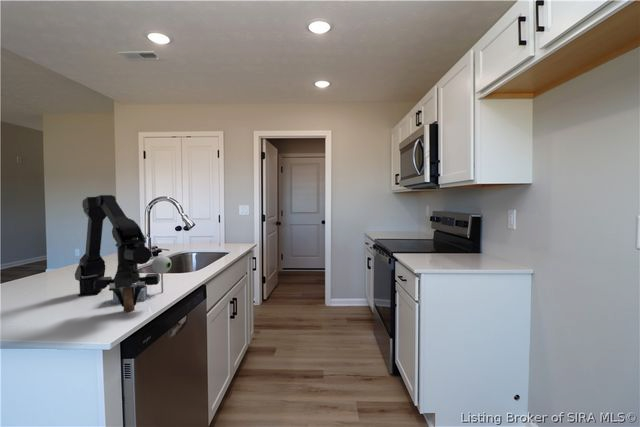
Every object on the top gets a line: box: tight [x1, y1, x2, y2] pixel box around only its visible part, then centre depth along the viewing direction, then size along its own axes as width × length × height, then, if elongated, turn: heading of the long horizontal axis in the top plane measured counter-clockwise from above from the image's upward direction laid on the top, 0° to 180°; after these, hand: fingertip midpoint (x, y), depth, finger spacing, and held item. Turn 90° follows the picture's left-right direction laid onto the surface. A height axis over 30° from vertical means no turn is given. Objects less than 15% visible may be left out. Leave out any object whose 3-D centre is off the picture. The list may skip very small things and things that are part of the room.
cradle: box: [109, 283, 149, 305], centre depth 121 cm, size 11×7×8 cm, turn 109°
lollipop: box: [151, 255, 172, 294], centre depth 130 cm, size 7×7×15 cm
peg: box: [123, 286, 136, 313], centre depth 109 cm, size 3×3×8 cm
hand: (129, 305), depth 109 cm, fingers closed on peg, 3 cm apart
